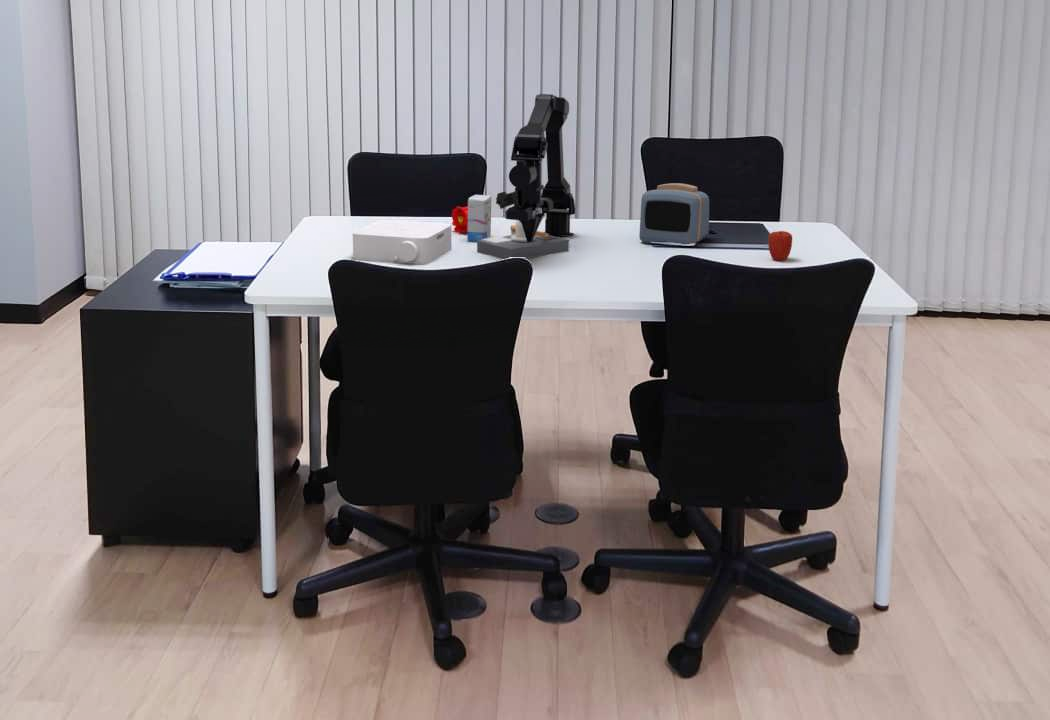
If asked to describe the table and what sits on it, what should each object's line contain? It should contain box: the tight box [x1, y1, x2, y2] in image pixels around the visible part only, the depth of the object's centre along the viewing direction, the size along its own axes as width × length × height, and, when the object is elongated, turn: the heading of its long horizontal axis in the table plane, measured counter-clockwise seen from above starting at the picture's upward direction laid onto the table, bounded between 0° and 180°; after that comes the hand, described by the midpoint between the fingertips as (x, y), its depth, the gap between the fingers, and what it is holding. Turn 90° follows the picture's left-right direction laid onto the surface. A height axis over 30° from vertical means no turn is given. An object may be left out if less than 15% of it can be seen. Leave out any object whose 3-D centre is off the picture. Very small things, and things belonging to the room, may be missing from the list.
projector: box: [352, 219, 452, 265], centre depth 357 cm, size 21×22×7 cm
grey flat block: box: [476, 229, 570, 260], centre depth 362 cm, size 20×15×4 cm
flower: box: [451, 205, 468, 234], centre depth 387 cm, size 8×8×8 cm
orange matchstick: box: [510, 224, 548, 237], centre depth 364 cm, size 14×2×1 cm, turn 40°
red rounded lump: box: [767, 230, 793, 262], centre depth 354 cm, size 6×6×8 cm
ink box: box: [467, 194, 492, 243], centre depth 376 cm, size 9×5×12 cm, turn 168°
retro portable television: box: [639, 182, 710, 245], centre depth 375 cm, size 16×16×16 cm
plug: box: [511, 220, 535, 243], centre depth 361 cm, size 6×6×9 cm
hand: (529, 241), depth 353 cm, fingers closed
